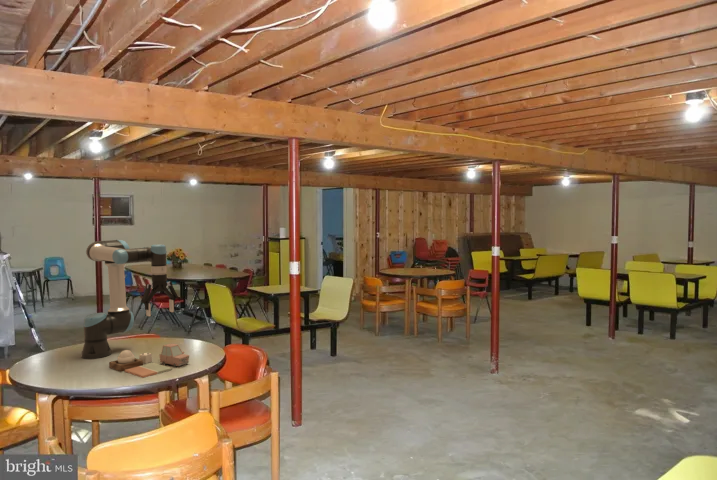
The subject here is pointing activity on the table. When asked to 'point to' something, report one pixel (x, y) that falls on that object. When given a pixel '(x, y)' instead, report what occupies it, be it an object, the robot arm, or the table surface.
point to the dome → (125, 357)
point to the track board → (148, 370)
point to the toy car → (173, 355)
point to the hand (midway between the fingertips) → (160, 314)
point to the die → (146, 357)
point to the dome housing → (125, 365)
